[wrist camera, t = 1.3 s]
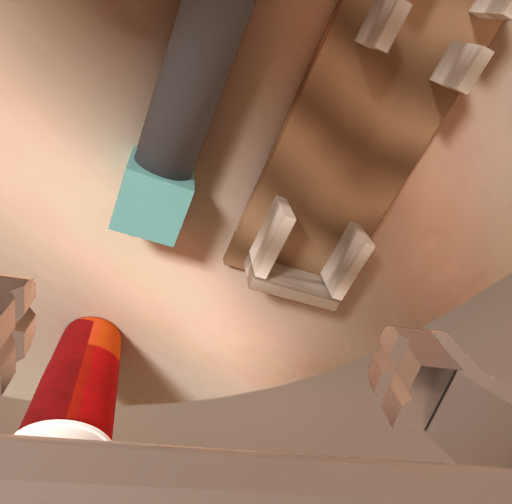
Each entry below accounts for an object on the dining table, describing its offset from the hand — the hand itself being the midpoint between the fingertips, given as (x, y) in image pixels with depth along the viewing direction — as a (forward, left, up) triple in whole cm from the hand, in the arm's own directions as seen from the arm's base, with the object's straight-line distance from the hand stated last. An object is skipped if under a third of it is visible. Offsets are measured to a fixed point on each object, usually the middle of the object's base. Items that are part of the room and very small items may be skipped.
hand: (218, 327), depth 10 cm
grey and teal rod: (-3, -1, -26) cm, 27 cm away
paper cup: (+26, -2, -27) cm, 37 cm away
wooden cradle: (-2, +13, -26) cm, 30 cm away
